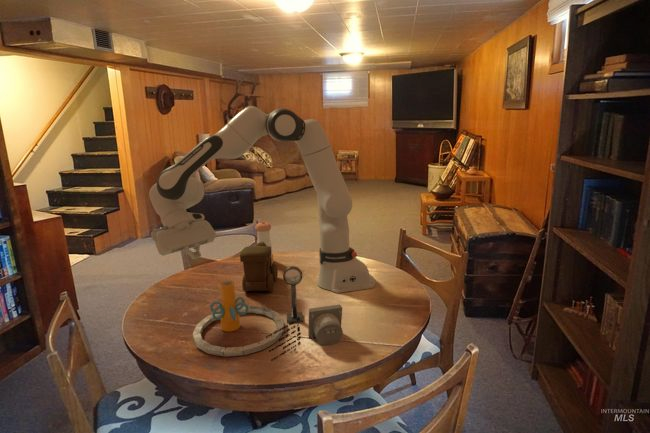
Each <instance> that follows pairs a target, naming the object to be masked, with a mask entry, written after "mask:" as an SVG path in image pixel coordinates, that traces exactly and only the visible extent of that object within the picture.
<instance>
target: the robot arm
mask: <svg viewBox="0 0 650 433" xmlns="http://www.w3.org/2000/svg"><path fill="white" fill-rule="evenodd" d="M264 136H267V137H269V138H271V139H272V140H274V141H275V142H276V141H277V142H294V143H295V144H296V146H297V147H298V149H299V152H300V155H301V157H302V161H303V163H304V165H305V168H306V170H307V173H308V176H309V178H310V182H311V183H312V185H313V188H314V191H315V192H316V195H317V210H318V212H317V213H318V222H319V236H320V237H319V240H320V246H319V247H320V248H319V252H318V253H319V254H318V256H319V257H318V258H319V259H318V260H319V264H320V267H319V273H318V279H317V282H316V284H317V286H319V287H320V288H322V289H323V290H324V289H325V290H328V291H331V292H334V293H335V294H336V293H337V294H340V293H347V292H355V291H362V290H369V289H374V288H375V287H376V280H375V277H374V276H373V275H372V274H370V272H369V269H368V267H367V265H366V264H365V263H364V262H363V261H361V260H360V259H359V258H357V257H358V253H357V252H356V251H355V249H353V247H352V246H351V247H350V226H349V219H348V215H349V214H350V212H351V211H352V209H353V200H352V196H351V193H350V191H349V188H348V186H347V184H346V181H345V178H344V176H343V174H342V171H341V170H340V168H339V165H338V162H337V159H336V157H335V154H334V151H333V148H332V145H331V143H330V140H329V138H328V135H327V134H326V132H325V129H324V128H323V126H322V125H321V123H320V121H318V120H317V119H315V118H310V119H303V118H301V117H300V116H299V115H298V114H297V113H295V112H294V110H293V111H292V110H291V109H289V108H276V109H274V110H273V111H270V112H268V113H265V112H263V110H262V109H260V108H258V107H257V106H254V105H249V106H245V107H244V108H243V109H241V111H239V112H238V113H236V114H235V115H234V116H233V117H232V118H231V119H230V120H229V121H228V122H227V123H226V124H225V125H224V126H223V127H222V128H221V129H219V131H217V132H216V133H214V134H212V135H210V136H207V137H206V138H205V139H203V140H202V141H200V143H198V144H197V145H196V146H194V147H193V148H192V149H191V150H190V151H189V152H188V153H186V154H185V155H183V157H182V158H180V160H178V161H177V162H176V163H174V164H173V165H171V166H169V167H166V168H165V169H164V170H162V171H161V172H160V174H158V176H157V179H156V183H155V184H153V185H152V186H151V187H150V189H149V193H148V194H149V200H150V202H151V205H152V207H153V209H154V212H155V213H156V214H157V215H158V216H159V217H160V222H161V224H162V225H163V227H160V228H154V229H153V230H152V231H151V232H150V237H151V239H152V240H153V241H154V244H155V247H156V250H157V252H158V253H159V255H161V256H166V255H170V254H174V253H178V252H181V251H183V253H184V254H185V255H187V256H189V257H190V259H191V260H196V259H199V258H201V257H202V254H201V252H200V250H201V249H200V248H201V246H202V245H206V244H210V243H213V242H215V240H216V238H217V234H216V231H215V230H214V227H213V226H212V225H211V223H210V222H209V221H207V220H206V219H205V218H206V217H205V214H203V213H198V212H197V213H196V212H189V211H187V210H188V209H191V208H192V207H194V206H196V205H198V204H199V203H200V202H202V201H203V199H204V197H205V193H206V188H205V186H204V184H203V182H202V181H201V180H199V179H197V178H195V177H194V175H195V174H196V173H197V172H198V171H200V170H201V169H202V168H204V166H205V165H206V164H208V163H209V162H211V161H213V160H217V159H229V160H234V159H235V160H236V159H239V158H241V157H242V156H244V154H246V153H247V152H248V151H249V150H250V149H251V148H252V146H254V144H255V143H256V142H257V141H258V140H260V139H261V138H262V137H264ZM191 249H193V250H194V252H193V251H192V250H191Z"/></svg>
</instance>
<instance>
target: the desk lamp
mask: <svg viewBox="0 0 650 433" xmlns="http://www.w3.org/2000/svg"><path fill="white" fill-rule="evenodd" d="M282 279H283V281H284V283H286V284H287V285H288V286H290V296H291V297H290V299H291V312H286V324H290V323H292V322H295V323H294V324H296V323H298V322H300V323H303V312H302V311H297V310H298V308H297V285H299V284H300V283H301V282H302V280H303V272H302V270H301V268H299V267H297V266H296V265H292V266H288V267H286V268H285V269H284V271H283V273H282ZM297 318H300V321H299V320H298V322H297Z"/></svg>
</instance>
